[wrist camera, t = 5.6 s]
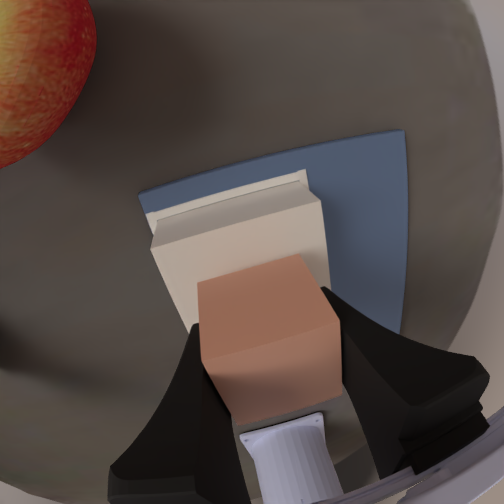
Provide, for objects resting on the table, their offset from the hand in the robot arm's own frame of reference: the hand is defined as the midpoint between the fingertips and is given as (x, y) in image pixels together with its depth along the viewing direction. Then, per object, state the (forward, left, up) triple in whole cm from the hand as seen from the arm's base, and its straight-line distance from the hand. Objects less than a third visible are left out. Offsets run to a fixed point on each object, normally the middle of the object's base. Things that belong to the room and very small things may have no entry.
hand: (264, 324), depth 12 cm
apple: (+13, +7, -6) cm, 16 cm away
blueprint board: (-4, -3, -6) cm, 7 cm away
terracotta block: (0, 0, -1) cm, 1 cm away
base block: (0, 0, -5) cm, 5 cm away
